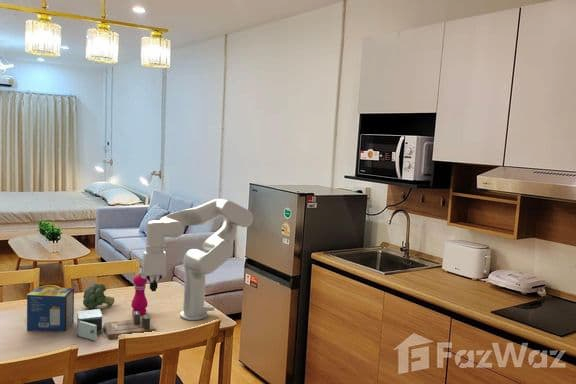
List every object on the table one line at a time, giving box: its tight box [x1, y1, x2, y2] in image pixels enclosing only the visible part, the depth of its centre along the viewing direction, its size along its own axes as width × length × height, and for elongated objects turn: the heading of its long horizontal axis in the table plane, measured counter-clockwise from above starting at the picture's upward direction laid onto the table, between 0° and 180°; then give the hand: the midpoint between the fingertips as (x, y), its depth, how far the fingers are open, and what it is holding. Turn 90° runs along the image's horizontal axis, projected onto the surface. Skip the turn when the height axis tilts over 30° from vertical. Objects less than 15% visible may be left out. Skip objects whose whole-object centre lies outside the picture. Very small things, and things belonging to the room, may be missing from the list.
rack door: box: [76, 319, 98, 341], centre depth 190 cm, size 10×2×6 cm, turn 67°
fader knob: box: [132, 311, 141, 325], centre depth 204 cm, size 2×4×4 cm, turn 27°
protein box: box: [26, 286, 75, 333], centre depth 199 cm, size 10×15×16 cm
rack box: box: [76, 308, 103, 334], centre depth 199 cm, size 9×9×7 cm
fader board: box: [103, 314, 157, 340], centre depth 201 cm, size 19×13×6 cm
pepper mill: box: [130, 271, 149, 317], centre depth 220 cm, size 7×7×20 cm
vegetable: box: [82, 283, 115, 310], centre depth 225 cm, size 12×13×15 cm
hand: (153, 290), depth 206 cm, fingers closed
